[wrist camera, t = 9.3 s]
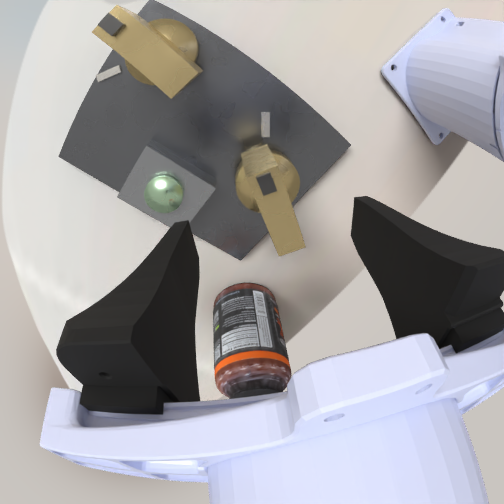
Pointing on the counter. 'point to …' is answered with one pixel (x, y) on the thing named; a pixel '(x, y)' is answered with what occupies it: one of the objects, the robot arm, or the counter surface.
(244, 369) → the supplement bottle
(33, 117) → the counter surface
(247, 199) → the knob
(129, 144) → the instrument base
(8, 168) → the counter surface
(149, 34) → the knob
